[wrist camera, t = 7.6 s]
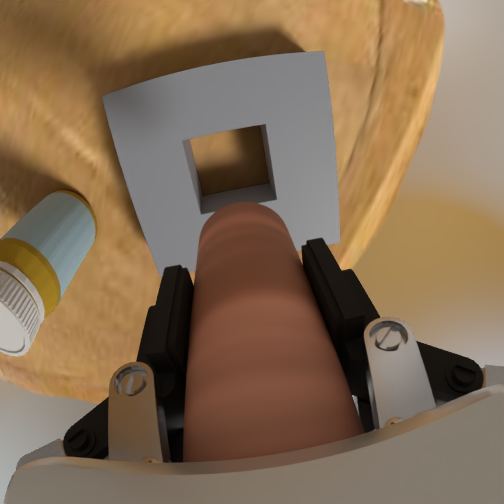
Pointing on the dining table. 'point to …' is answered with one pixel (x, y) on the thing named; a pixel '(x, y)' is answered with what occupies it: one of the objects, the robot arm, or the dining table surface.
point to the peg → (258, 347)
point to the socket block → (219, 120)
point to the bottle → (40, 264)
